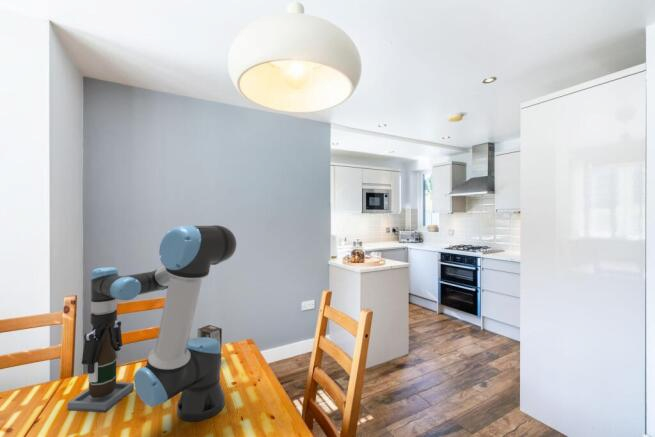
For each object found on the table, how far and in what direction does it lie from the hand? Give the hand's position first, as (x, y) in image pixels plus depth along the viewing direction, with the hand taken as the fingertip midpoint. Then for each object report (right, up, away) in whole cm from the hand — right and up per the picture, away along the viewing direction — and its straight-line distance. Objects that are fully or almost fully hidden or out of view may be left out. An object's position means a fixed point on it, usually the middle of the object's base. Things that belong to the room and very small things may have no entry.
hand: (103, 375), depth 107 cm
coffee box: (+28, -9, +26) cm, 39 cm away
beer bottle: (0, -6, 0) cm, 6 cm away
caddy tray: (0, -9, 0) cm, 9 cm away
